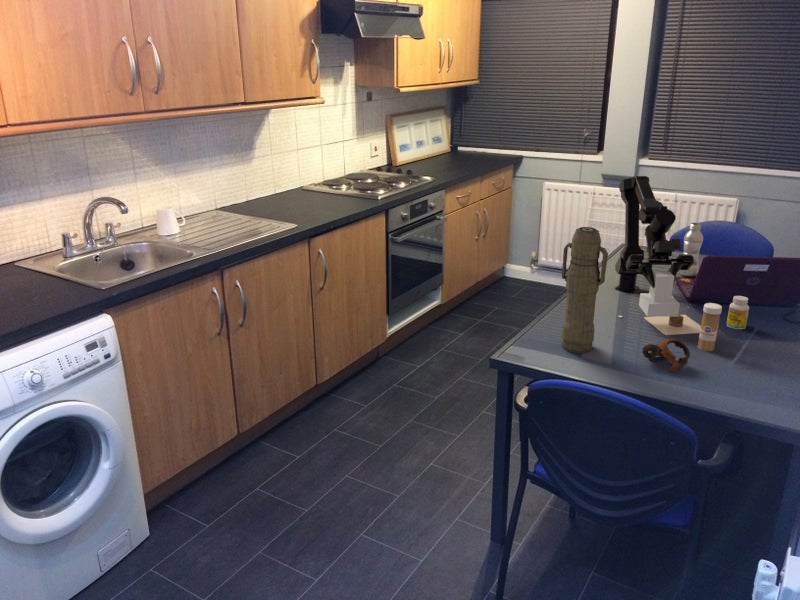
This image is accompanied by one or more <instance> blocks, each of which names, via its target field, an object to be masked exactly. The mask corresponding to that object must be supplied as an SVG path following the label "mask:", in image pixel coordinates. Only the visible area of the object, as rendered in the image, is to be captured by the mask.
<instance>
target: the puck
mask: <svg viewBox="0 0 800 600" xmlns="http://www.w3.org/2000/svg"><path fill="white" fill-rule="evenodd" d="M681 315H682V314H678V317H669V325H671V326H674V327H681V326H682V325H683V318H684V317H683V316H681Z"/></svg>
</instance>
